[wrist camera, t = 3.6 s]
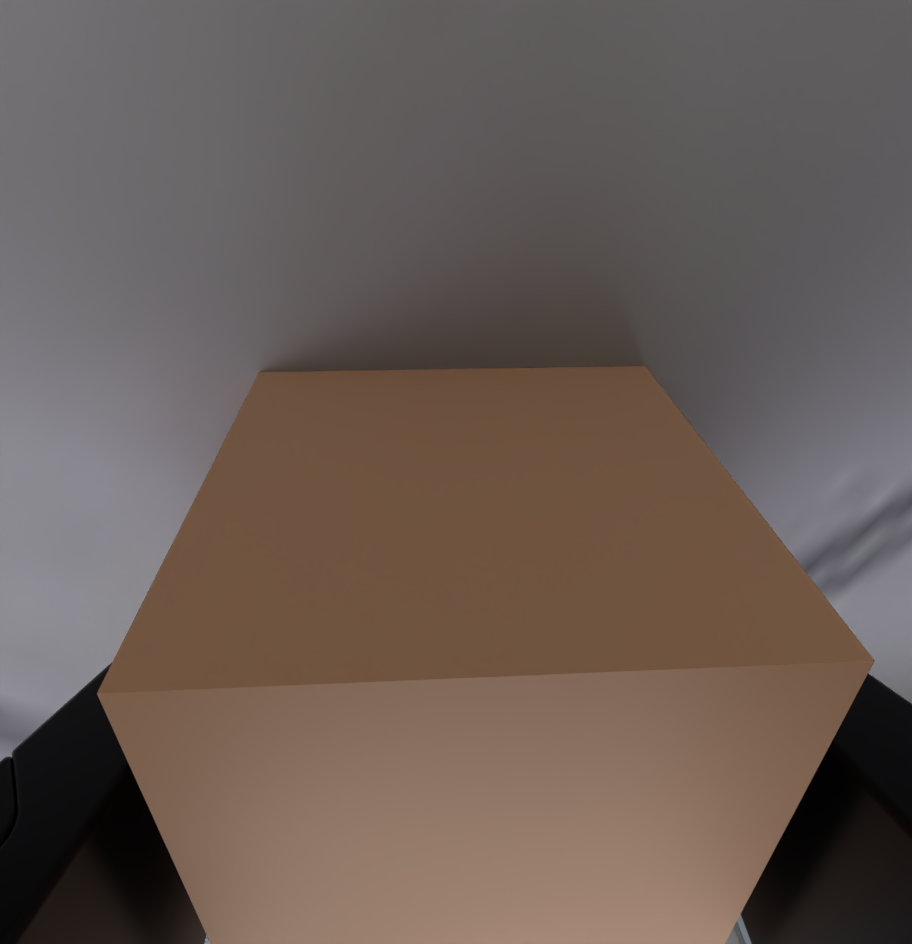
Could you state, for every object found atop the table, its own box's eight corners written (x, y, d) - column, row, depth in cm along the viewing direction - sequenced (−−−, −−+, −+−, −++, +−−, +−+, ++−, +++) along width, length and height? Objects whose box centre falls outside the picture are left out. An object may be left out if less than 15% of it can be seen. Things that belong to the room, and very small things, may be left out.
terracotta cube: (306, 641, 11) (239, 1008, 7) (260, 369, 8) (97, 692, 4) (596, 630, 11) (707, 975, 7) (643, 363, 8) (876, 661, 4)
